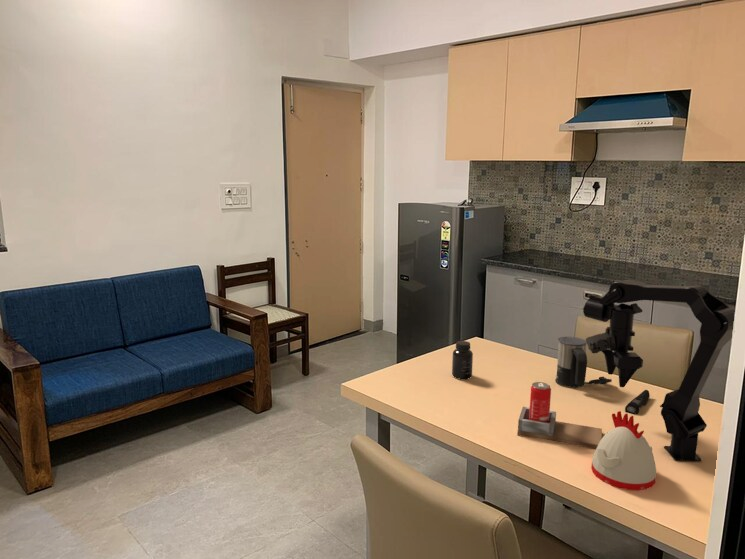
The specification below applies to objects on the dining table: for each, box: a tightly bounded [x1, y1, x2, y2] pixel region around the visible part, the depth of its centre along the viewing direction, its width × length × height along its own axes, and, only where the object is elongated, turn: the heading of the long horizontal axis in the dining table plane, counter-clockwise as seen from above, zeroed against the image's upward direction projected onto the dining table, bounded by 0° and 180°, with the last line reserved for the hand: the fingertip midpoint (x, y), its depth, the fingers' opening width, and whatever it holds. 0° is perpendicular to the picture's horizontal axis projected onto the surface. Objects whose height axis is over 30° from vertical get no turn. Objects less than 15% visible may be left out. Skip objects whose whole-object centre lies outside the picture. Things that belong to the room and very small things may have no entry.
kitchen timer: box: [591, 410, 657, 491], centre depth 132 cm, size 14×14×15 cm
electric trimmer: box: [624, 389, 651, 416], centre depth 171 cm, size 4×16×3 cm, turn 139°
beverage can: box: [529, 381, 552, 423], centre depth 153 cm, size 5×5×12 cm
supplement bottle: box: [451, 340, 474, 380], centre depth 192 cm, size 7×7×12 cm
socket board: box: [517, 406, 603, 450], centre depth 153 cm, size 21×10×4 cm, turn 68°
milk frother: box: [554, 336, 613, 388], centre depth 186 cm, size 14×16×15 cm
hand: (615, 380), depth 156 cm, fingers open, 9 cm apart
